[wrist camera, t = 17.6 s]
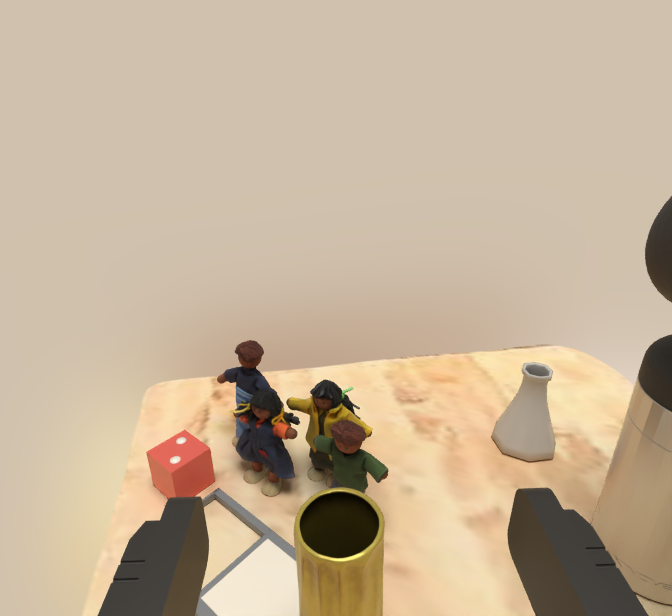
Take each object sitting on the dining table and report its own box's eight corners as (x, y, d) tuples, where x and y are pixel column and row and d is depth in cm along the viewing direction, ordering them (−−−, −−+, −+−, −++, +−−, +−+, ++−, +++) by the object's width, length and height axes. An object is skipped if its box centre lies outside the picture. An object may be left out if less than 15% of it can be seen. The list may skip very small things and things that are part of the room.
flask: (494, 459, 53) (508, 385, 49) (487, 419, 60) (498, 350, 56) (563, 467, 52) (582, 391, 48) (548, 425, 59) (564, 355, 54)
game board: (219, 493, 49) (218, 487, 48) (421, 656, 35) (422, 649, 34) (137, 553, 43) (136, 546, 42) (344, 781, 29) (344, 773, 28)
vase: (284, 698, 32) (269, 552, 26) (315, 610, 37) (308, 472, 31) (373, 731, 30) (379, 584, 24) (392, 634, 35) (401, 493, 29)
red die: (190, 461, 53) (184, 429, 51) (215, 481, 50) (210, 447, 48) (153, 485, 50) (146, 451, 48) (177, 507, 47) (171, 472, 45)
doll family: (182, 467, 52) (163, 364, 47) (231, 420, 60) (219, 326, 54) (380, 541, 44) (386, 426, 38) (408, 475, 51) (416, 370, 46)
